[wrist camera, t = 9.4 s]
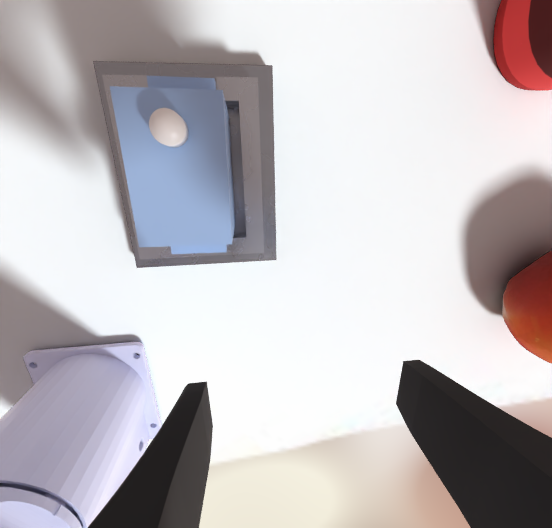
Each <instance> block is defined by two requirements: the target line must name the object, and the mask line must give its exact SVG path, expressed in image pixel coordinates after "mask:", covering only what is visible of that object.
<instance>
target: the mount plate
mask: <svg viewBox="0 0 552 528" xmlns="http://www.w3.org/2000/svg"><path fill="white" fill-rule="evenodd" d="M93 62H94V67H95V72H96V76H97V81H98V86H99V91H100V95H101V100H102V105H103V109H104V114H105V119H106V124H107V128H108V133H109V138H110V143H111V147H112V152H113V157H114V161H115V166H116V171H117V176H118V180H119V185H120V190H121V195H122V199H123V204H124V209H125V214H126V218H127V223H128V228H129V232H130V237H131V242H132V247H133V251H134V256H135V261H136V266H137V268H142V267H159V266H177V265H195V264H212V263H230V262H247V261H265V260H276V222H275V173H274V124H273V75H272V65H230V64H187V63H145V62H102V61H93ZM147 76H171V77H197V78H215V82H216V90H223V93H224V98H225V102H226V106H227V110H228V114H229V120H230V138H231V157H232V175H233V193H234V212H235V229H234V235H233V241H232V244H228V245H227V252H220V253H192V254H172V253H171V246H166V247H139V244H138V239H137V233H136V228H135V222H134V217H133V211H132V206H131V200H130V195H129V189H128V184H127V178H126V173H125V168H124V162H123V157H122V151H121V146H120V140H119V135H118V129H117V124H116V118H115V113H114V108H113V102H112V97H111V91H110V86H118V87H148V83H147Z"/></svg>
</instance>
